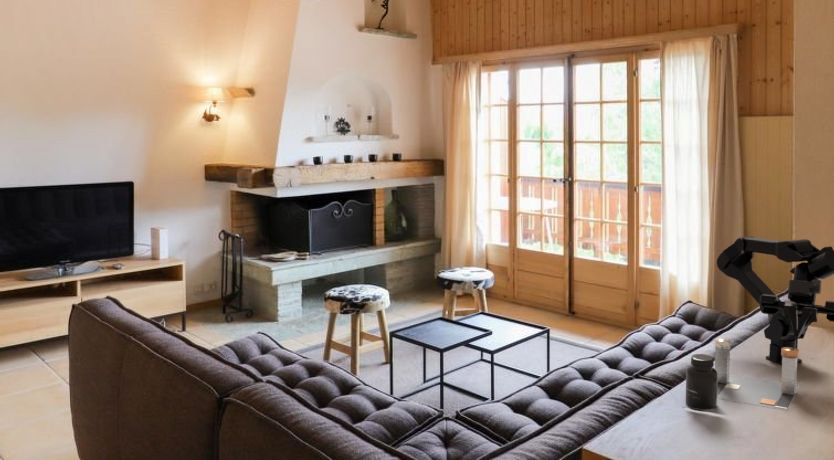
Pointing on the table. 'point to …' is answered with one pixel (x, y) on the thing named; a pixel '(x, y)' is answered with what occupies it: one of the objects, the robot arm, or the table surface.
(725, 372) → the lever
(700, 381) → the supplement bottle
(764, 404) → the switch board
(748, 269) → the robot arm
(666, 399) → the table surface
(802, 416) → the table surface
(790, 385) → the lever
